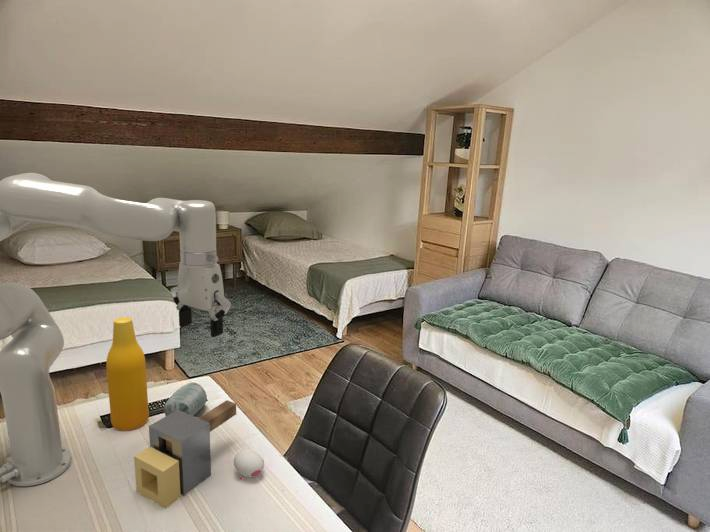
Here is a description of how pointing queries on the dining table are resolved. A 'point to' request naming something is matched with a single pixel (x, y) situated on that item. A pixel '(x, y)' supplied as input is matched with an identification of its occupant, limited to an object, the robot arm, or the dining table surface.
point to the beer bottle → (126, 378)
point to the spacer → (157, 476)
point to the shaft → (215, 417)
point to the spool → (186, 399)
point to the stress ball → (248, 463)
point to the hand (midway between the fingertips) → (201, 330)
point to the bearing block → (184, 446)
